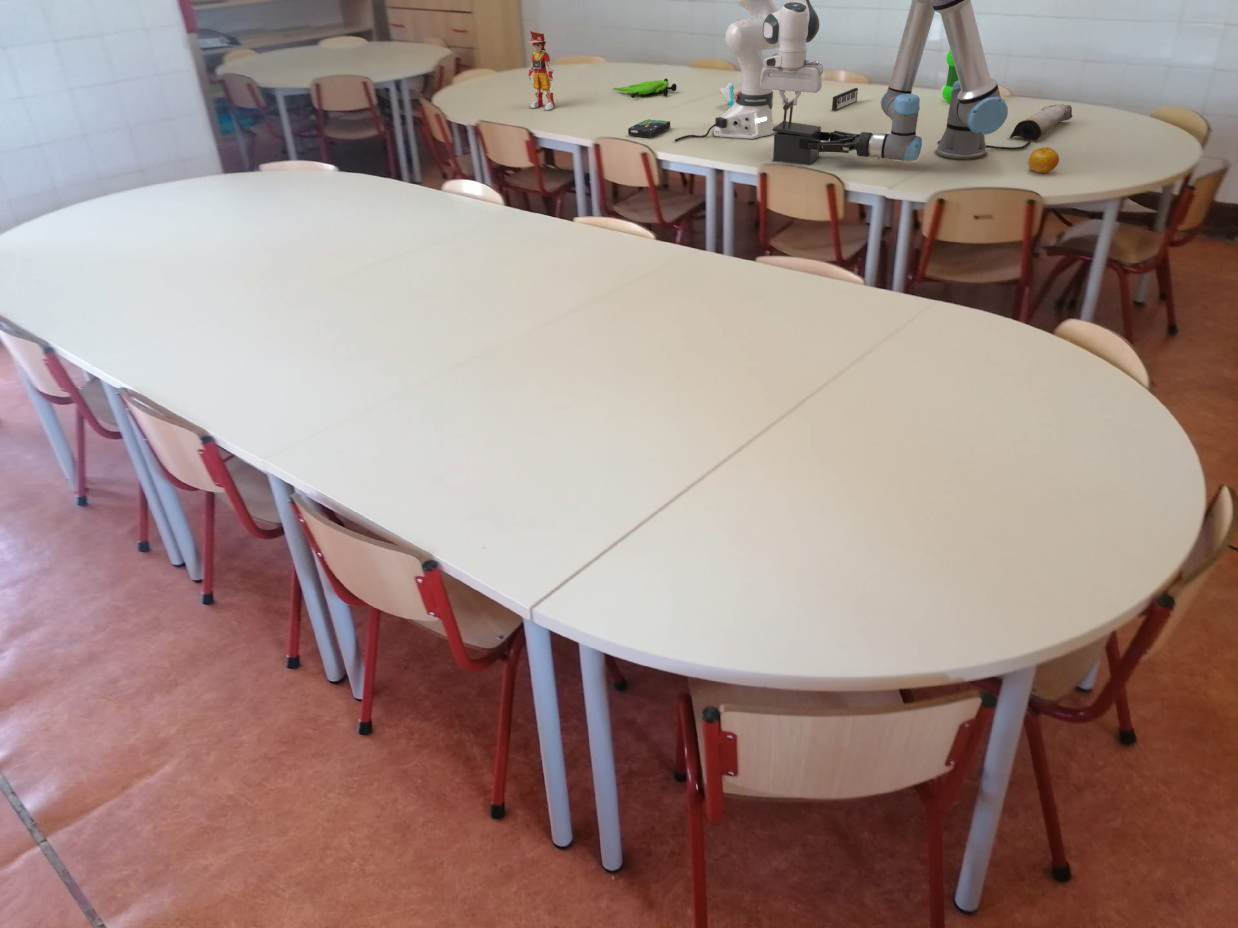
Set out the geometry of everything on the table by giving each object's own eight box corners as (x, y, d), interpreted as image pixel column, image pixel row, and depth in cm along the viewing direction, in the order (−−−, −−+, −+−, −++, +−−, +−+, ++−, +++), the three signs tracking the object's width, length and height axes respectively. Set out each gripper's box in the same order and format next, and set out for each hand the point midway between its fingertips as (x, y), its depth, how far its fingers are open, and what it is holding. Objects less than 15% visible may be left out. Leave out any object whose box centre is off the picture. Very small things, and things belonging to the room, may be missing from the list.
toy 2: (686, 85, 398) (631, 84, 414) (685, 72, 395) (629, 72, 411) (651, 104, 381) (596, 103, 397) (650, 92, 378) (594, 91, 394)
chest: (772, 161, 304) (774, 134, 299) (783, 153, 311) (784, 126, 305) (809, 164, 298) (811, 137, 293) (819, 156, 305) (821, 129, 300)
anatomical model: (716, 82, 367) (740, 75, 367) (721, 107, 373) (744, 101, 372) (722, 90, 355) (747, 83, 354) (727, 117, 361) (751, 110, 360)
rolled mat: (1039, 109, 327) (1064, 92, 319) (1053, 130, 328) (1078, 113, 320) (1005, 132, 310) (1030, 114, 302) (1020, 154, 310) (1045, 137, 302)
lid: (772, 131, 298) (775, 104, 293) (782, 124, 305) (785, 98, 300) (811, 137, 293) (814, 110, 288) (820, 129, 300) (824, 103, 295)
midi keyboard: (834, 110, 353) (835, 97, 350) (831, 110, 354) (832, 97, 351) (857, 101, 364) (858, 88, 361) (854, 101, 364) (855, 88, 361)
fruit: (1023, 163, 276) (1041, 139, 273) (1022, 165, 284) (1039, 142, 281) (1047, 178, 275) (1065, 155, 272) (1044, 180, 283) (1062, 157, 280)
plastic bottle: (973, 101, 354) (984, 32, 339) (955, 106, 349) (966, 36, 335) (952, 97, 361) (962, 29, 346) (934, 102, 356) (944, 33, 342)
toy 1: (525, 109, 381) (517, 32, 364) (534, 104, 388) (527, 28, 371) (550, 110, 377) (543, 32, 360) (559, 105, 384) (553, 28, 367)
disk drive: (651, 138, 334) (670, 128, 344) (651, 131, 332) (670, 120, 342) (627, 136, 339) (647, 125, 349) (627, 128, 337) (647, 118, 347)
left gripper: (826, 59, 286) (822, 105, 294) (766, 56, 294) (764, 100, 302) (820, 63, 281) (816, 109, 289) (759, 60, 290) (757, 104, 298)
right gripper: (860, 166, 284) (792, 160, 294) (879, 147, 300) (815, 142, 309) (862, 142, 280) (794, 136, 289) (882, 124, 296) (816, 119, 305)
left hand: (789, 104), depth 296 cm, fingers closed on lid, 2 cm apart
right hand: (805, 139), depth 299 cm, fingers closed on chest, 10 cm apart
